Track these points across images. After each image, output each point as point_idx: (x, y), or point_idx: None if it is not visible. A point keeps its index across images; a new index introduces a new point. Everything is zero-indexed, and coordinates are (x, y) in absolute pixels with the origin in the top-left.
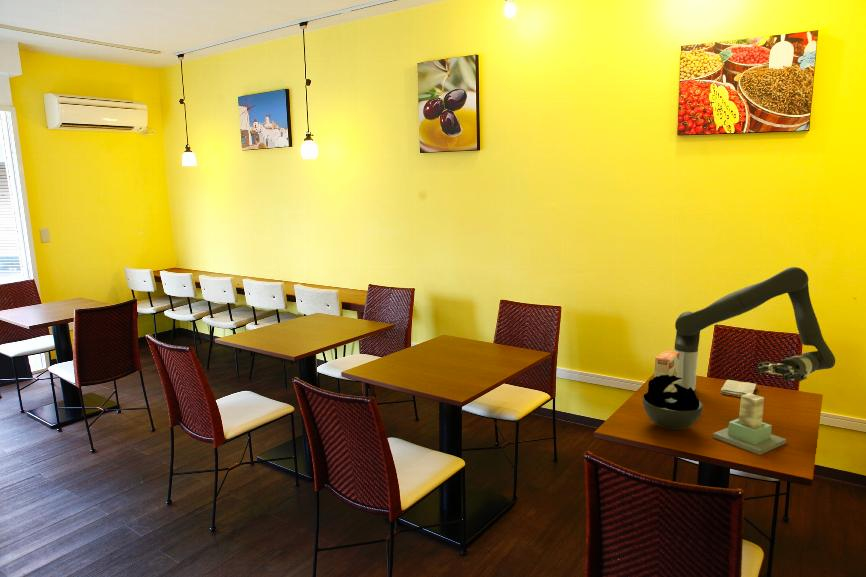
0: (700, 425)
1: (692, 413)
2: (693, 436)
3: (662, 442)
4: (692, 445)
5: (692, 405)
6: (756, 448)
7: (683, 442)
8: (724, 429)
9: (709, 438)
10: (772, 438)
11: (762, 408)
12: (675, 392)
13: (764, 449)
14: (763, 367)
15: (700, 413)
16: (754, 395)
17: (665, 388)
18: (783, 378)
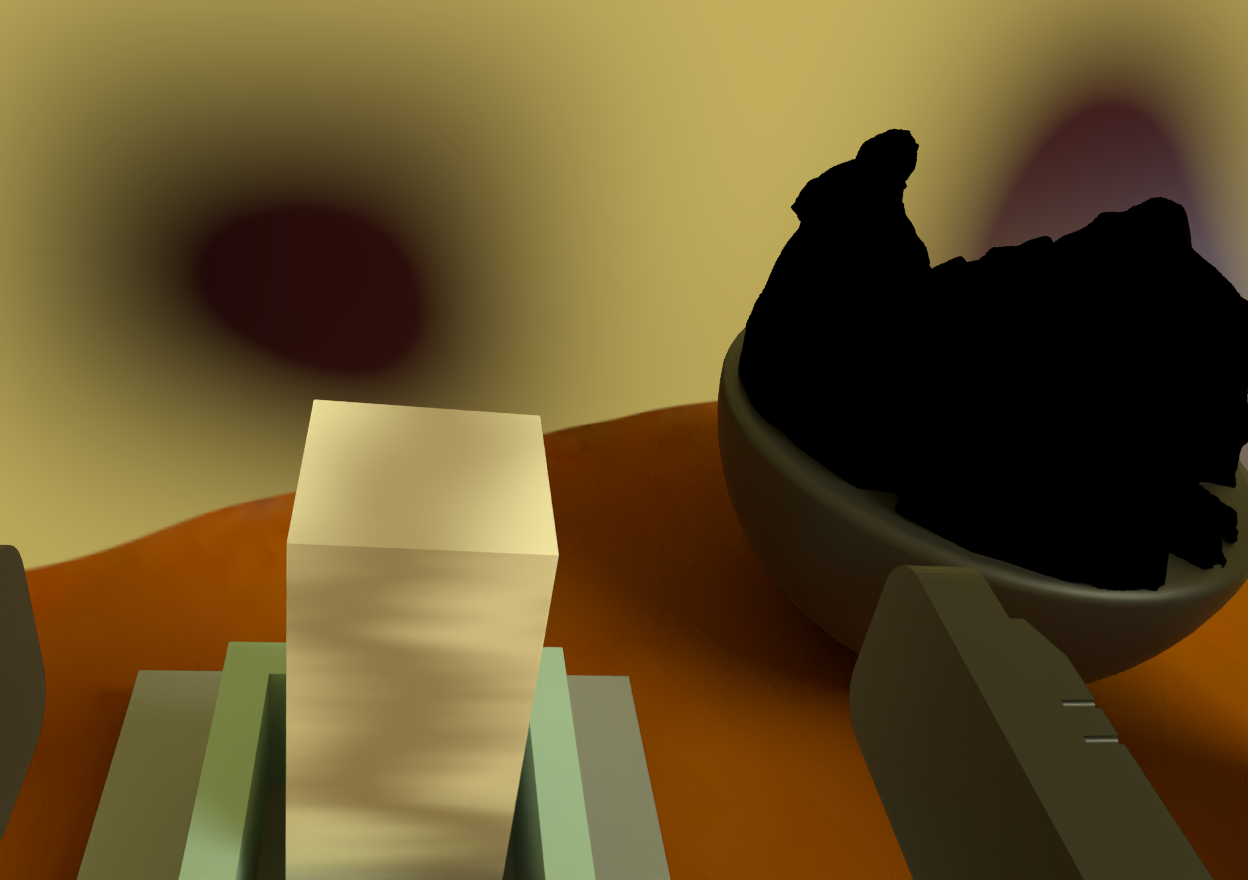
0: (894, 842)
1: (720, 386)
2: (700, 616)
3: (698, 438)
4: (580, 509)
5: (747, 326)
6: (183, 683)
7: (644, 506)
8: (649, 828)
9: (616, 671)
10: None
11: (289, 675)
12: (1193, 527)
13: (119, 744)
14: (986, 725)
15: (747, 485)
16: (445, 526)
17: (1138, 371)
18: (18, 640)
